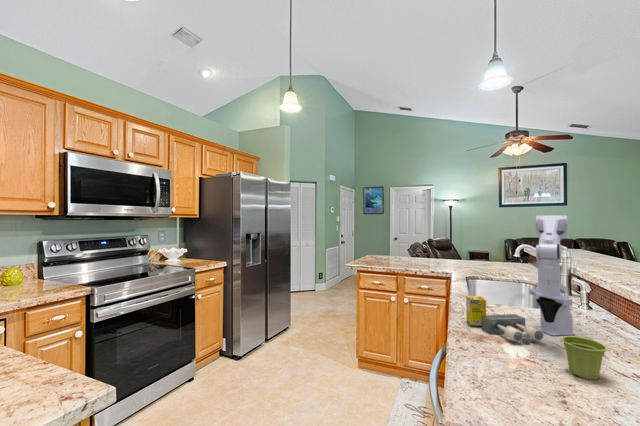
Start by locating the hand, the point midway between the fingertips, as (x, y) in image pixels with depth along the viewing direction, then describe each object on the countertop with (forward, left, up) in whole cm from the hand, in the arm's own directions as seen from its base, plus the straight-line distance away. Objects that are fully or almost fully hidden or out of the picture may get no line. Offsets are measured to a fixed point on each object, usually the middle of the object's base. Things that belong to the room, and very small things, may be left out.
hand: (549, 321), depth 99 cm
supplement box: (+10, -24, -9) cm, 28 cm away
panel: (+4, -17, -9) cm, 19 cm away
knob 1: (+7, -10, -8) cm, 15 cm away
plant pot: (+4, +15, -9) cm, 18 cm away
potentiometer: (+4, -6, -9) cm, 12 cm away
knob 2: (0, -10, -8) cm, 13 cm away
